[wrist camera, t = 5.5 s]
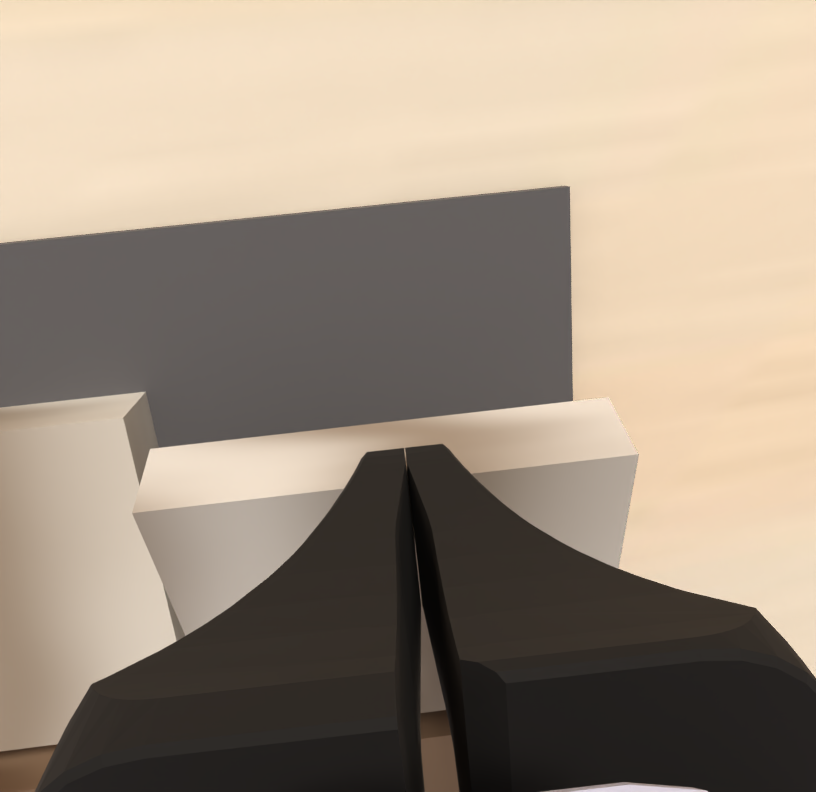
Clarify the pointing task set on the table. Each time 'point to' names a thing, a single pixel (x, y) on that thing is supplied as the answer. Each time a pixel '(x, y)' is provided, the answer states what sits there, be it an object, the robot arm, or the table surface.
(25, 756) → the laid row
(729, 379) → the table surface
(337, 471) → the plank
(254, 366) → the gray rectangular panel
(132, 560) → the plank
